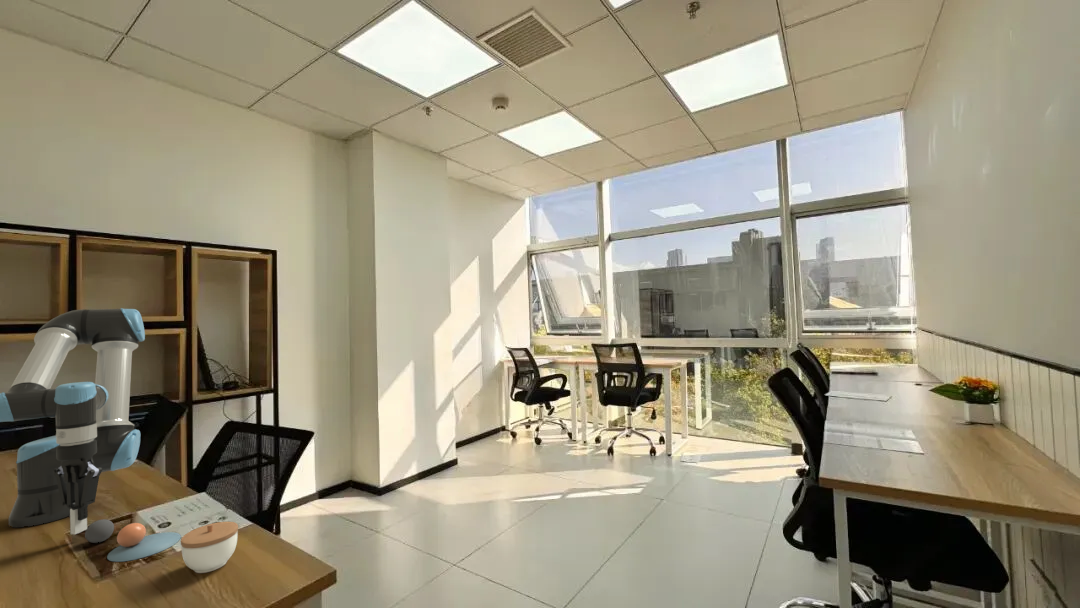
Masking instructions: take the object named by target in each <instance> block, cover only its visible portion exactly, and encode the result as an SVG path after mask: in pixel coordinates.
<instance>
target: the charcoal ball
mask: <svg viewBox="0 0 1080 608" xmlns="http://www.w3.org/2000/svg"><path fill="white" fill-rule="evenodd" d="M114 530H115V524H114V523H113V522H112V520H109V519H98V520H96V521H94V522H92V523H91V524H89V525H88V526H87V529H86V530H85V531H84V532H85V533H84V538H85V539H86V541H88V542H89V543H92V544H98V542H99V543H102V542H104V541H106V540H107V539H109V538H110V537H111V536H112V535H113V532H114Z"/></svg>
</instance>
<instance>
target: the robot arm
mask: <svg viewBox="0 0 1080 608" xmlns="http://www.w3.org/2000/svg"><path fill="white" fill-rule="evenodd" d="M144 326H145V325H144V322H143V318H142V314H141V313H140V311H139V310H137V309H135V308H122V307H120V308H102V309H101V308H99V309H98V308H97V309H85V308H84V309H74V310H71V311H66V312H64V313H61V314H59V315H58V316H55V317H54V318H52V319H50V320H49V321H47V322H46V323H44V324H43V325H42V326H41V327H40V328H39V329H38V331H36V334H35V335H34V337H33V341H34V342H33V343H34V346H33V347H32V350H31V351H30V353H29V354H28V356H27V358H26V360H25V361H24V363H23V365H22V366H21V368H20V370H19V372H18V374H17V375H16V377H15V379H14V381H13V382H12V385H11V386H10V388H9V389H8V391H7V392H0V423H3V422H17V421H25V420H34V419H40V418H41V419H42V418H43V419H44V418H50V417H51V418H52V417H55V431H56V432H55V435H52V436H48V437H43V438H40V439H37V440H33V441H30V442H27V443H25V444H23V445H21V446H20V447H19V448H18V450H17V453H16V454H17V455H16V456H17V457H16V458H17V460H16V462H15V464H16V480H17V482H16V484H17V487H16V488H17V497H16V499H15V502H14V504H13V507H12V508H11V511H10V513H9V516H8V526H9V525H10V526H12V527H11V528H25V527H24V526H28V527H32V526H33V525H34V526H39V525H43V523H44V524H47V523H51V522H55V521H59V520H61V519H64V518H67V517H69V523H70V526H69V527H70V535H78V534H80V533H82V532H85V531H86V529H87V528H88V517H89V515H88V514H89V513H88V512H89V511H88V506H89V505H92V504H94V503H95V502H96V497H97V496H96V495H97V490H98V485H99V480H100V476H101V474H102V473H104V472H109V471H111V472H114V471H116V470H121V469H126V468H129V467H130V466H132V465H133V464H134V463H135V462H136V460H137V457H138V455H139V454H138V453H139V450H140V445H141V431H140V430H139V429H136V428H135V424H134V423H133V422H131V421H129V416H130V397H131V376H132V360H133V359H132V358H133V351H135V350H137V349H138V348H139V342H144V341H145V340H146V338H145V337H146V332H145V327H144ZM90 344H91V348H92V349H93V350H94V351H95V352H97V357H96V367H95V368H96V369H95V379H94V380H95V382H93V381H79V382H78V381H77V382H69V383H63V384H60V385H57V387H55V388H52V386H53V384H54V382H55V381H56V379H57V375H59V372H60V370H61V368H62V365H63V363H64V361H65V360H66V358H67V356H68V353H69V352H70V351H72V350H74V349H75V348H76V347H77V345H90ZM10 526H9V527H10Z"/></svg>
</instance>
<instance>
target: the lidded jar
mask: <svg viewBox="0 0 1080 608" xmlns="http://www.w3.org/2000/svg"><path fill="white" fill-rule="evenodd" d="M238 531H239V524H238V523H236V522H235V521H218V522H213V523H209V524H205V525H203V526H202V525H201V526H200V527H197V528H195V529H194V528H193V529H192V530H190V531H189V532H187V533H186V534H184V535H183V536H181V538H180V547H181V555H182V559H183V562H184V564H185V565H186V567H187V568H188V569H191V570H193V571H194V573H196V574H206V573H211V572H212V571H216V570H218V569H220V568H222V567H224V566H225V565H226V564H227V563H228V560H229V559H230V558H231V557H232V555H233V554H234V553H235V550H236V549H237V548H236V547H237V544H238V539H239V538H238V536H239V535H238V533H239V532H238Z"/></svg>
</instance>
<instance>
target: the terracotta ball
mask: <svg viewBox="0 0 1080 608" xmlns="http://www.w3.org/2000/svg"><path fill="white" fill-rule="evenodd" d="M146 534H147V529H146V527H145V525H144V524H142V523H140V522H132V523H129V524H126V525H125V526H123V527H122V528H121V529H120V530H119V532H118V534H117V536H116V541H117V542H116V543H118V546H120V545H121V546H123V547H132V546H135V545H137V544H138V543H140V542H141V541H142V540H143V538H144V537H145V536H146Z"/></svg>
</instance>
